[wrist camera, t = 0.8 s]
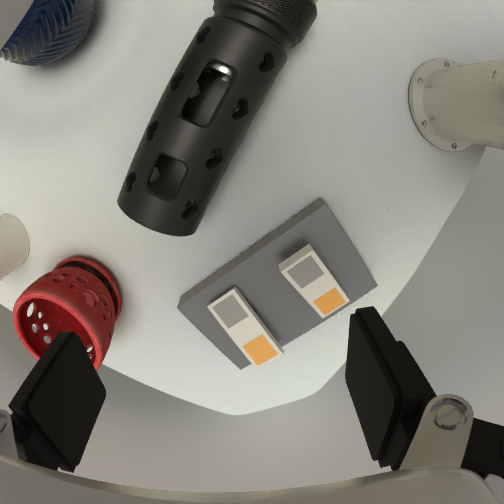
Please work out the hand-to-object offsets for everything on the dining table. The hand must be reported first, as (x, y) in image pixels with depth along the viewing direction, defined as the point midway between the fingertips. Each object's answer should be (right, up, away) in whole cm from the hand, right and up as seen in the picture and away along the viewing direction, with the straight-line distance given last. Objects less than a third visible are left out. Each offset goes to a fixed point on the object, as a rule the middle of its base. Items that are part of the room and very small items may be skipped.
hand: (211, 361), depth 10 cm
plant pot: (-22, -2, +32) cm, 39 cm away
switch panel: (+5, -1, +31) cm, 32 cm away
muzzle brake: (-2, +21, +23) cm, 31 cm away
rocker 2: (+9, 0, +25) cm, 27 cm away
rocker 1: (+1, -6, +28) cm, 28 cm away
